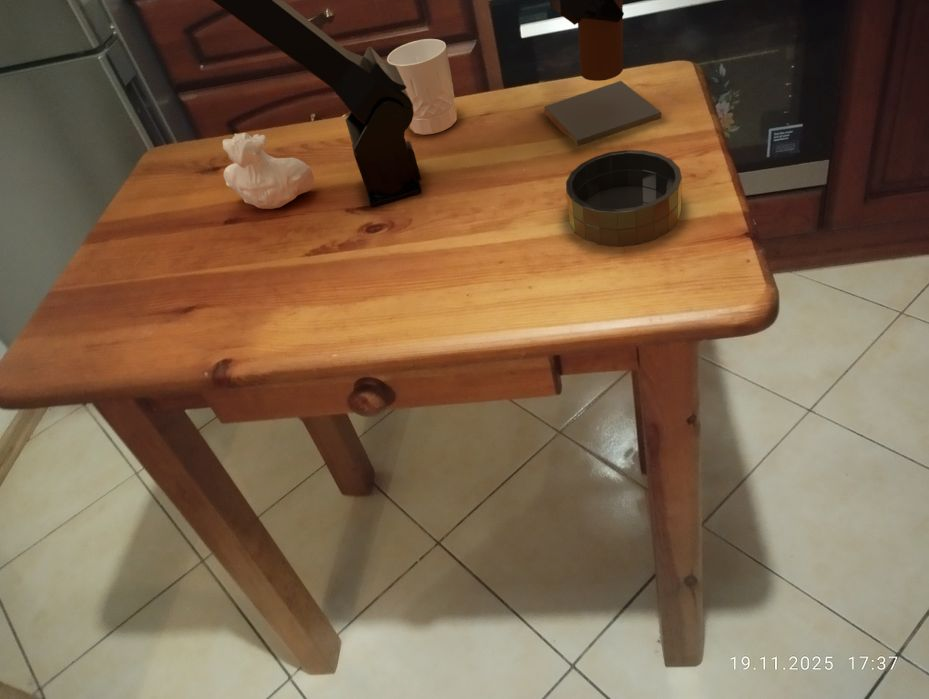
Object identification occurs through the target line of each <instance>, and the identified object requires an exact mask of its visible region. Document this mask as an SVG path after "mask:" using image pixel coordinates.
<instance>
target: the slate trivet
mask: <svg viewBox="0 0 929 699" xmlns="http://www.w3.org/2000/svg"><path fill="white" fill-rule="evenodd" d="M543 109H544V115H545V116H546V117H547V118H548V119H549V120H550V121H551V123H553V124H554V125H555V127H556V128H557V129H558V130H559V131H560V132H561V133H562V134H563V135H566V136H567V138H569V139H570V140H571V141H572V142H573V143H574V144H575V145H576V146H577V147H579V146H582V145H585V144H588V143H591V142H594V141H597V140H600V139H603V138H606V137H609V136H612V135H615V134H617V133H621V132H623V131H626V130H630V129H633V128H636V127H639V126H642V125H644V124H647V123H650V122H653V121H656V120H660V119H662V111H661V110H660V109H658V108H656V107H655V106H654V105H653V104H651V103H650V102H649V101H648V100H646V99H645V98H644V97H643V96H641V95H640V94H638V93H637V92H636V91H635V90H633V89H632V88H631V87H630V86H628V85H627V84H626V83H625V82H624V81H623V80H618V81H616V82H613V83H609V84H606V85H604V86H600V87H598V88H595V89H591V90H589V91H586V92H582V93H580V94H577V95H574V96H571V97H568V98H564V99H562V100H558V101H556V102H555V101H554V102H553V103H550V104H546V105H545V106H543Z"/></svg>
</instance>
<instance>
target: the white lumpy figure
mask: <svg viewBox="0 0 929 699" xmlns="http://www.w3.org/2000/svg"><path fill="white" fill-rule="evenodd" d="M233 135H234V136H232V138H223V140H222V143H221V144H222V149H223V150H224V151H225V152H226V153H227V155H228V159H229V160H231V162H232V163H231V164H229V165H227V166H226V167H225V168H224V170H223V179H224V181H225V185H226V186H227V187H228V188H230V189H231V190H232V191H234V192H235V193H236V194H237V195H238V196H240V197H241V198H242V200H243V202H244V203H245V204H247V205H251V206H254V207H256V208H258V209H262V210H265V209H266V210H273V209H278V208H282V207H283V206H285V205H287V204H288V203H290V202H292V201H293V200H294V199H296V198H297V196H299V195H302V194H304V193H307V192H309V191H312V190H313V188H314V186H315V176H314V173H313V171H312V168H311V167H310V166H309V165H308V164H307V163H306V162H304V161H302V160H301V159H299V158H297V157H274V156H273V155H269V154H268V153H266V151H265V147H264V146H265V145H266V143H267V137H266V135H265V134H258V133H256V134H254V135H253V136H251V135H250V134H248V133H247V132H240V133H234V134H233Z"/></svg>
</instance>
